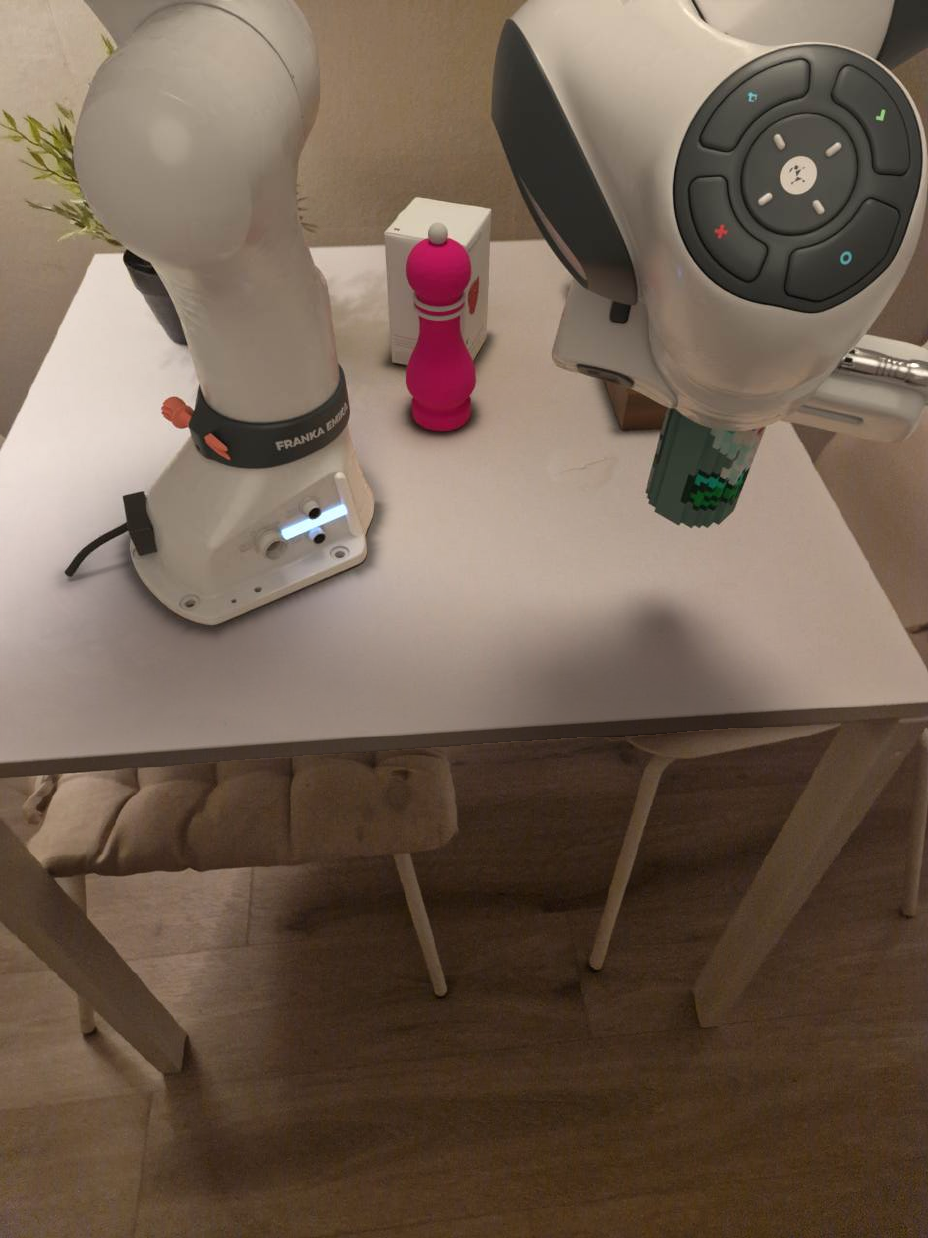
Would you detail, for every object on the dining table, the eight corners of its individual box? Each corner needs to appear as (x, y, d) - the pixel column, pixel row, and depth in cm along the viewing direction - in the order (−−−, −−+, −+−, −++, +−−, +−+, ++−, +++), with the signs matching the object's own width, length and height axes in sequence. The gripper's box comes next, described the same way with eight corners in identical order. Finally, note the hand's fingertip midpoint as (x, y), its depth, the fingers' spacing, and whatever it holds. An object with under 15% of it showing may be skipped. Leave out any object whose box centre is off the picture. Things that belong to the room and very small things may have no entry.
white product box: (464, 379, 89) (466, 245, 77) (390, 364, 91) (380, 231, 79) (489, 337, 94) (493, 206, 83) (418, 323, 96) (413, 193, 84)
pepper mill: (478, 395, 87) (482, 206, 71) (472, 437, 82) (475, 245, 67) (412, 391, 87) (402, 202, 72) (403, 432, 83) (390, 240, 67)
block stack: (714, 425, 84) (735, 358, 78) (621, 430, 83) (634, 363, 77) (689, 370, 90) (706, 304, 84) (602, 374, 89) (613, 308, 83)
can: (703, 539, 55) (773, 344, 43) (631, 498, 57) (678, 303, 46) (748, 497, 58) (825, 303, 46) (677, 459, 60) (733, 266, 49)
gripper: (1000, 311, 35) (907, 381, 49) (560, 226, 40) (586, 312, 53) (951, 450, 36) (873, 482, 50) (525, 352, 41) (559, 405, 54)
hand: (722, 393), depth 51 cm, fingers closed on can, 6 cm apart
